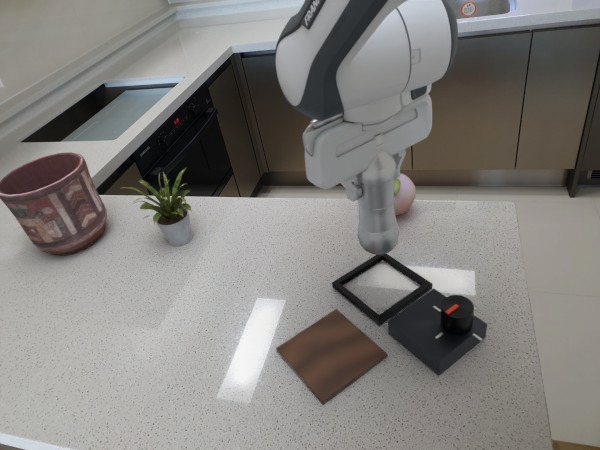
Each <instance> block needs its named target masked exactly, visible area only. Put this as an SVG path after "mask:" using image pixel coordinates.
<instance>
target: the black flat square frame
mask: <svg viewBox="0 0 600 450" xmlns="http://www.w3.org/2000/svg"><path fill="white" fill-rule="evenodd" d="M381 262H384V263H386V264H387V265H388V266H390V267H391V268H393V269H395V271H397V272H398V273H400V274H402V275H403V276H405V277H406V278H408V279H409V280H410V281H412V282H413V283H414V284H417V286H418V287H417V288H415V289H414V290H412V291H411V292H409V293H407V295H405V296H403V298H401V299H399V300H398V301H396V302H395V303H394V304H392V305H391V306H389V307H388V308H386V309H385V310H384V311H382V312H380V313H377V312H376V311H375V310H374V309H373V308H371V307H370V306H369V305H367V303H365V302H364V301H363V300H361V299H360V298H359V297H358V296H357V295H355V294H354V292H352V291H351V290H349V289H348V288H347V287H346V286H345V285H347V284H348V283H350V282H351V281H353V280H354V279H356V278H358V277H359V276H361V275H363V274H364V273H365V272H367V271H368V270H370V269H372V268H373V267H375V266H377V265H378V264H380V263H381ZM331 287H332V289H333V290H335V291H336V292H337V293H338V294H339V295H341V296H342V297H343V298H345V299H346V300H347V301H348V302H349V303H350V304H351V305H353V306H354V307H355V308H357V310H359V311H360V312H361V313H363V314H364V316H366V317H367V318H368V319H369V320H371V321H372V322H373V323H374V324H376V325H377V326H378V327H380V326H382V325H384V324H385V323H387V322H388V320H390V319H391V318H393V317H394V316H395V315H397V314H398V313H400V312H401V311H402V310H404V309H405V308H407V307H408V306H409V305H411V304H412V303H414V302H415V301H417V300H418V299H419V298H421V297H422V296H424V295H425V294H426V293H428V292H429V291H431V290H432V289H433V283H432V282H431V281H429V280H427V278H424V277H423V276H421V275H420V274H418V272H415V271H414V270H413V269H411V268H409V267H408V266H406V265H405V264H403V263H402V262H400V261H399V260H397V259H396V258H394V257H393V256H392V255H389V253H386V254H382V255H375V254H374V255H373V256H372V257H370V258H369V259H367V260H366V261H364V262H363V263H361V264H359V265H357V266H356V267H354V268H353V269H351V270H350V271H348V272H346V273H344V274H343V275H341V276H339V278H336V279H335V280H334V281H332V282H331Z"/></svg>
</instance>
